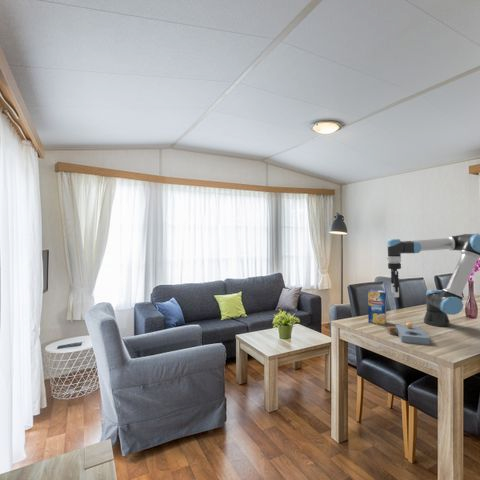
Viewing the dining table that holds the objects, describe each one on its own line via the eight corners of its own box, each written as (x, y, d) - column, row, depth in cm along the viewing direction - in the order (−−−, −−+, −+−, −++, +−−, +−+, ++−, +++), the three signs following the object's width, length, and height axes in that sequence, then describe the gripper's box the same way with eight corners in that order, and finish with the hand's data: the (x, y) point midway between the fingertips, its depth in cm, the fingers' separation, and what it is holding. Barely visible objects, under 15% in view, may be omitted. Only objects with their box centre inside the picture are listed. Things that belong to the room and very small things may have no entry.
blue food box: (385, 324, 207) (385, 292, 206) (368, 322, 212) (368, 291, 212) (386, 321, 213) (386, 290, 212) (369, 319, 218) (369, 289, 218)
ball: (411, 327, 187) (411, 321, 187) (413, 329, 184) (413, 323, 184) (405, 327, 189) (405, 321, 189) (406, 328, 185) (406, 323, 185)
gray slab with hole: (395, 330, 193) (395, 324, 193) (420, 332, 189) (420, 326, 189) (401, 341, 173) (401, 335, 173) (429, 344, 168) (429, 338, 168)
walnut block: (393, 332, 190) (393, 326, 190) (396, 334, 186) (396, 328, 186) (387, 332, 190) (387, 326, 190) (390, 334, 186) (389, 328, 186)
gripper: (386, 261, 211) (386, 291, 211) (390, 264, 187) (391, 298, 187) (398, 261, 208) (398, 291, 208) (403, 264, 185) (404, 299, 185)
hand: (395, 295), depth 198 cm, fingers open, 13 cm apart
